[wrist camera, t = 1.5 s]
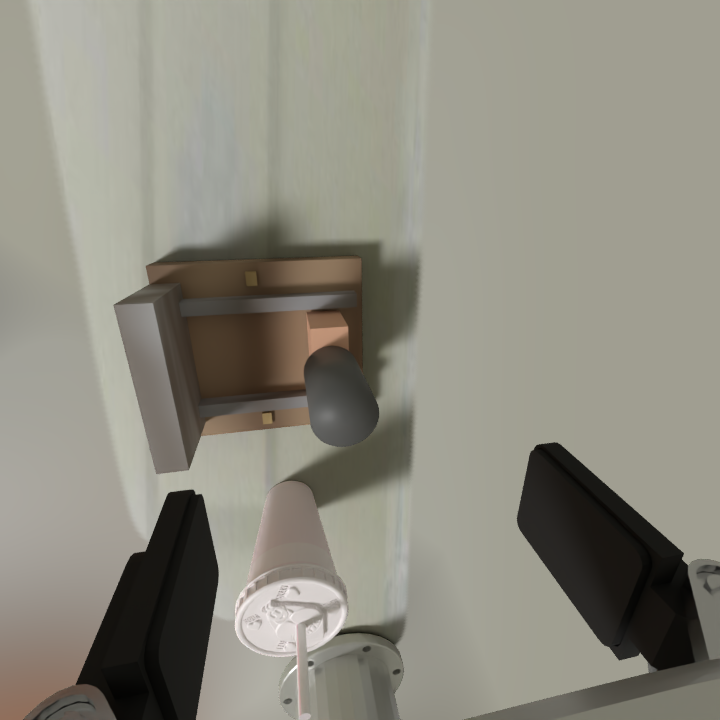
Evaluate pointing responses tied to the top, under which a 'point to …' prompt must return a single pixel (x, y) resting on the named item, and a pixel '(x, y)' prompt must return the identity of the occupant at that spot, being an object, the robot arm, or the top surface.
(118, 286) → the top surface
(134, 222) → the top surface
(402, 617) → the top surface
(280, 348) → the vise base
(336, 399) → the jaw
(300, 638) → the smoothie
